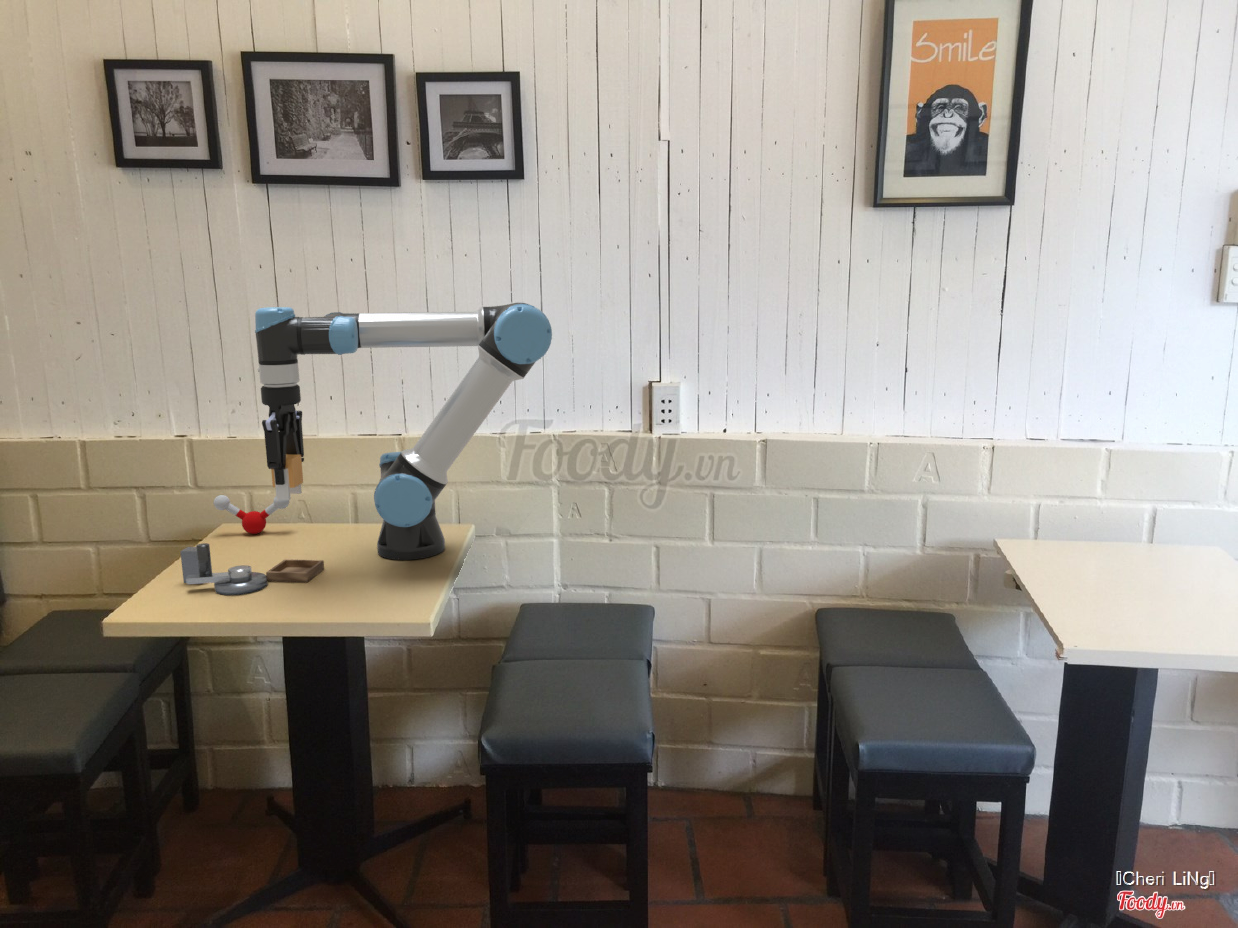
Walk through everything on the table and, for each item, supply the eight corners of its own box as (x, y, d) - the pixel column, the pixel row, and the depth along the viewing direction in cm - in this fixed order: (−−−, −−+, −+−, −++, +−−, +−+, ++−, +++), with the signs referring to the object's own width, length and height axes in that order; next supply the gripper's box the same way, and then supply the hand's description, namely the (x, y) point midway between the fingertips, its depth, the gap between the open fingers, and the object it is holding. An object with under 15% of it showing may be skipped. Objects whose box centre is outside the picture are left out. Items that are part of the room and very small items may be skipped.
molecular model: (214, 539, 225) (210, 499, 223) (219, 532, 230) (215, 493, 228) (291, 534, 228) (287, 494, 226) (293, 528, 234) (290, 489, 232)
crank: (253, 575, 194) (250, 538, 192) (250, 582, 190) (246, 545, 188) (190, 580, 191) (186, 543, 190) (185, 587, 187) (181, 549, 185)
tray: (324, 569, 202) (323, 560, 202) (307, 582, 194) (306, 573, 194) (285, 568, 203) (284, 559, 203) (266, 581, 195) (266, 572, 194)
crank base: (276, 579, 196) (275, 572, 196) (253, 596, 186) (252, 588, 186) (228, 578, 197) (227, 570, 197) (203, 594, 187) (202, 586, 187)
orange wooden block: (303, 482, 196) (301, 454, 195) (293, 487, 192) (291, 459, 191) (282, 482, 197) (280, 454, 196) (272, 487, 193) (270, 458, 191)
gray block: (209, 579, 196) (206, 547, 195) (202, 583, 194) (198, 551, 192) (191, 578, 197) (188, 546, 195) (183, 583, 194) (180, 551, 192)
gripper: (281, 379, 199) (290, 485, 204) (241, 390, 182) (251, 506, 187) (315, 379, 198) (323, 486, 203) (278, 390, 181) (287, 507, 186)
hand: (289, 495), depth 195 cm, fingers closed on orange wooden block, 4 cm apart
